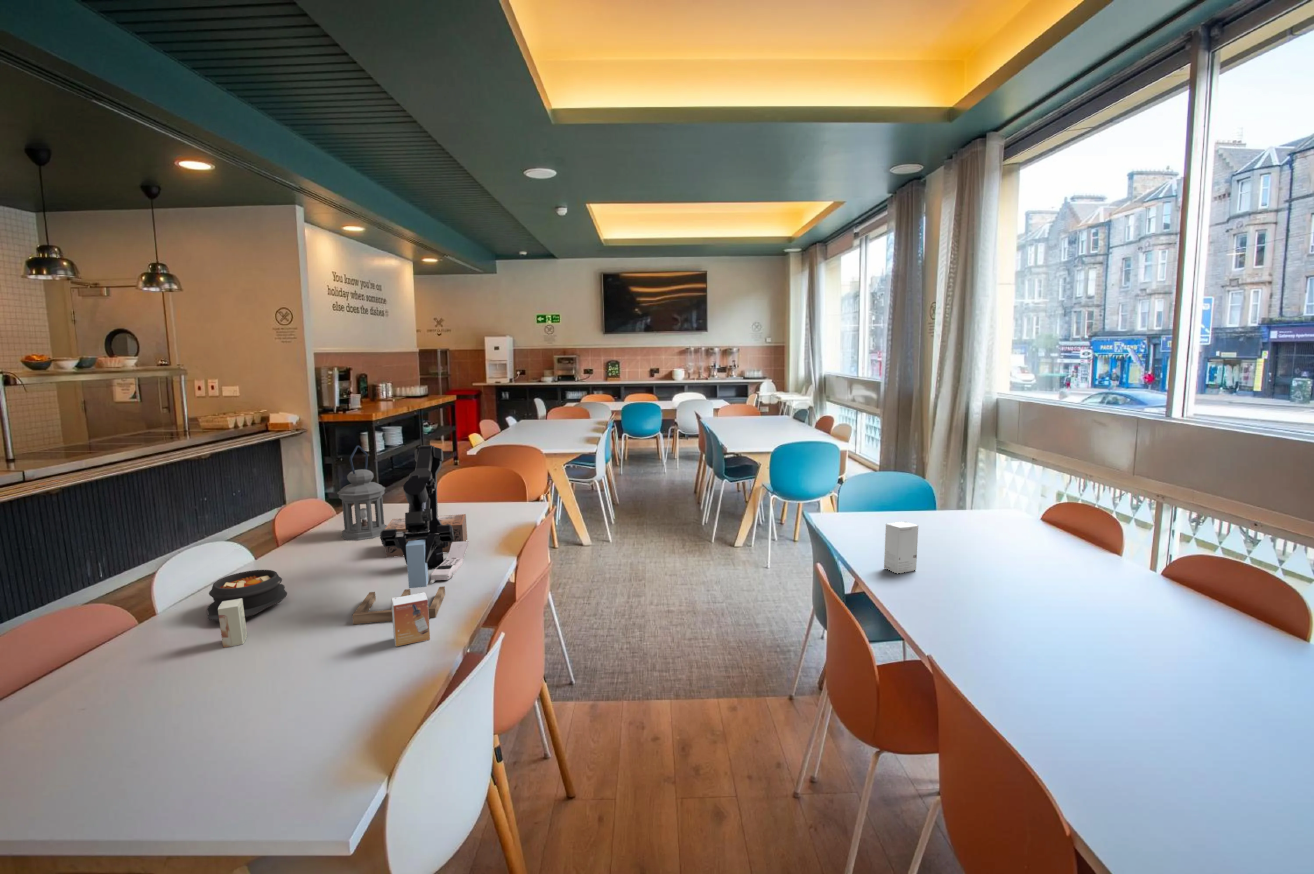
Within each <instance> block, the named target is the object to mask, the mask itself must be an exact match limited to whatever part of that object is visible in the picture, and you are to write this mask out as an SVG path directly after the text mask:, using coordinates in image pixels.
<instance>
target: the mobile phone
mask: <svg viewBox="0 0 1314 874" xmlns="http://www.w3.org/2000/svg"><path fill="white" fill-rule="evenodd" d="M469 544H470V541H462V542H452V544H451V548H450V551H449V552H448V555H447V558H445V559H444V562H443V563H441V564H440V565H439V566H438V567H437V568H434V570H433V571H432V572H431V574H430V575H431V576H430V578H431V580H430V582H429V584H430V585H432V584H433V583H435V582H436V581H448V580H450V579H452V577H453V578H454V575H456V573H457V572H458V571H459V570H460V568H461V567H462V566H463V564H464V558H465V555H466V552H467V550H468V547H469Z"/></svg>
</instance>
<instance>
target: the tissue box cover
mask: <svg viewBox="0 0 1314 874" xmlns="http://www.w3.org/2000/svg"><path fill="white" fill-rule="evenodd" d="M438 519H439V521H440V522H441V523H442V525H447V524H450V525H451V526H452V528H453V533H454V541H452V542H462V541H466V540H468V530H467V514H466V513H463V514H462V513H461V514H449V515H438ZM385 529H397V532H405V533H406V532H407V530H406V528H405V517H403V518H392V519H391V520H390V522H389V523H388V524H387V527H386V528H385ZM414 540H417V539H407V541H406V542H407V543H408V541H414ZM452 542H448V546H447V547H446V548H443V552H447V553H449V551H450V548H451V544H452ZM384 548H385V550H384V551H385V557H386V558H394V556H397V557H404V556H403V552H402V550H401V549H400V548H399V549H398V548H396V546H394V547H384Z"/></svg>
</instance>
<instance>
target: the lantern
mask: <svg viewBox="0 0 1314 874" xmlns="http://www.w3.org/2000/svg"><path fill="white" fill-rule="evenodd" d="M358 448H359V450H361V452H362V453H363V454H364V455H365V460H364V461H365V463H364V465H365V466H364V469H355V468H354V467H355V466H354V464H353V457H354V456H355V454H356V452H357V450H358ZM368 457H369V455H368V453H367V452H366V451H365V449H363V447H361V446H360V445H356V446H355V448H354V449H353V451H352V453H351V454H350V456H349V464H350V468H351V471H350V472H349V473H348V474H347V475H346V478H347V480H348V483H349V484H347V485H345V486H343V487H342V488H341V489H340V490H339V491H337V493H336V494H337V495H338V498H339V499H340V500H341V506H342V515H343V527H344V529H343V530H342V534H341V535H340V536H341V538H342V539H344V540H345V541H356V542H357V541H365V540H373V539H376V538H380V533H381V531H382V530H383V529H385V528H386V527H387V526H388V524H386V523H385V516H384V512H385V511H384V502H383V501H384V500H383V495H384V494H385V493H386V491H385V490H386V487H385V486H383V485H382V484H379V483H377V482H376V481H373V479H374V477H375V476H374V472H373V471H371V470H370V469H368V463H369V461H368V459H369V458H368ZM372 502H374V515H375V520H373V515H372V513H373V512H372ZM363 503H364V504H365V507H362V508H361V504H363ZM352 504H353V505H354V517H355V523H354V520H353V510H352V509H353V508H352Z"/></svg>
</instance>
